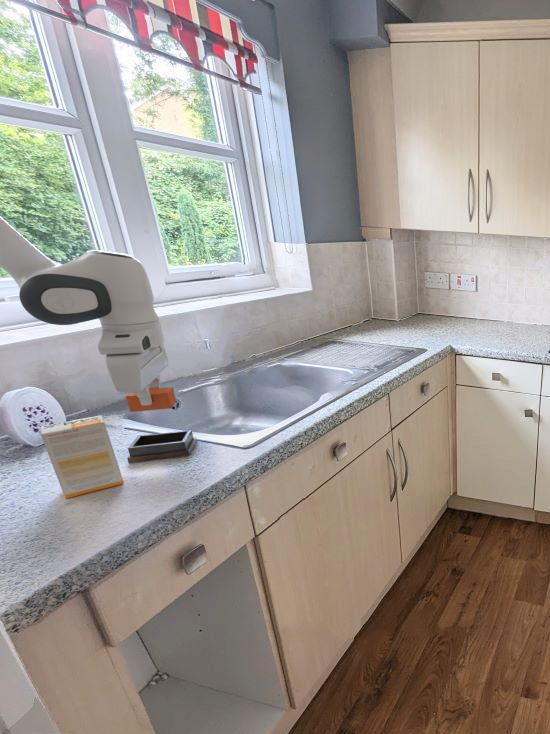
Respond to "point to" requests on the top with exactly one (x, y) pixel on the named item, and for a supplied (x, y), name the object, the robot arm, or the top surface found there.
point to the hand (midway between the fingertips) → (151, 400)
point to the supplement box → (81, 455)
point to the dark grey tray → (161, 446)
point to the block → (161, 400)
